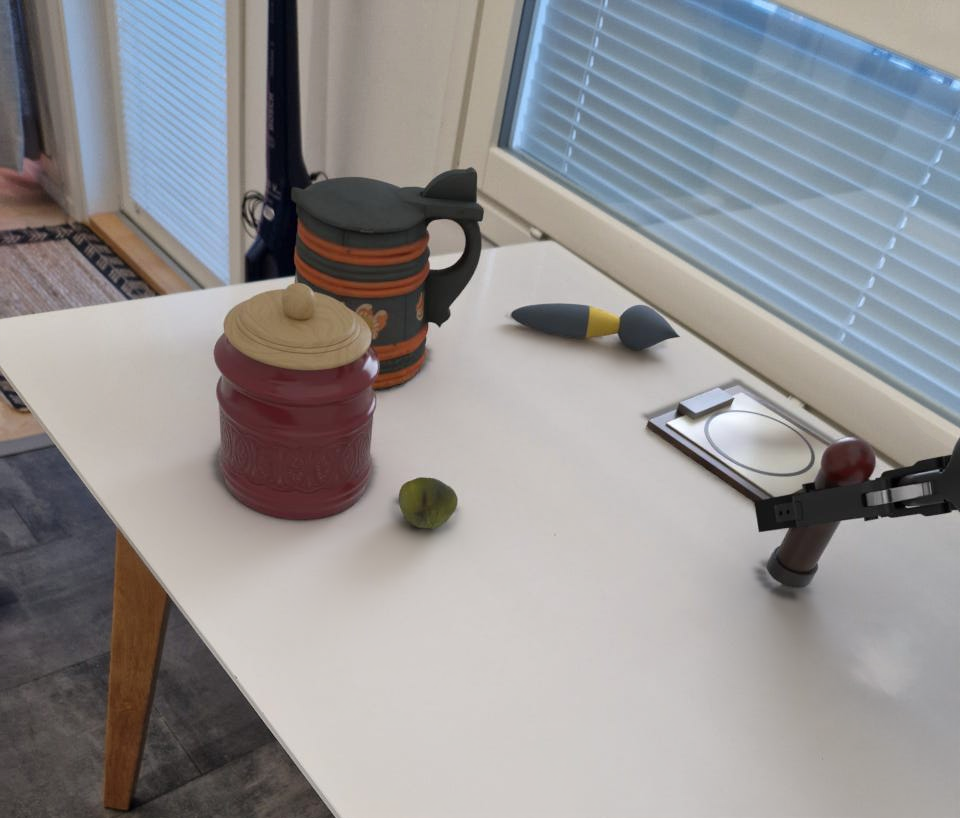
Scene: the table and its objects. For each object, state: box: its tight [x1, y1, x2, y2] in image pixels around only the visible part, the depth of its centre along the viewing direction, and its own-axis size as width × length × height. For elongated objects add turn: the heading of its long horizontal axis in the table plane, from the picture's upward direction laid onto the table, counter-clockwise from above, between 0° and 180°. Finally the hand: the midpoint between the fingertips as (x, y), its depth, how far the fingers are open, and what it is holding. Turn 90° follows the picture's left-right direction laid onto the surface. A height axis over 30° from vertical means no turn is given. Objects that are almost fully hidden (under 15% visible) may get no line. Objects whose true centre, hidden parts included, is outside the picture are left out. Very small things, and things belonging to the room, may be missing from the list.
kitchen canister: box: [213, 283, 380, 520], centre depth 74 cm, size 13×13×18 cm
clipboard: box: [645, 384, 831, 502], centre depth 95 cm, size 18×16×2 cm
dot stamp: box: [766, 436, 877, 589], centre depth 74 cm, size 4×4×14 cm
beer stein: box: [290, 166, 485, 390], centre depth 89 cm, size 19×15×20 cm
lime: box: [398, 476, 459, 529], centre depth 76 cm, size 4×5×5 cm
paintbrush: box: [510, 302, 681, 351], centre depth 105 cm, size 20×5×5 cm, turn 91°
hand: (778, 512), depth 78 cm, fingers closed on dot stamp, 3 cm apart
